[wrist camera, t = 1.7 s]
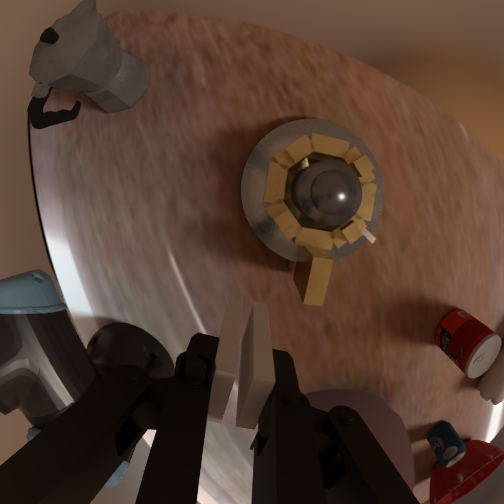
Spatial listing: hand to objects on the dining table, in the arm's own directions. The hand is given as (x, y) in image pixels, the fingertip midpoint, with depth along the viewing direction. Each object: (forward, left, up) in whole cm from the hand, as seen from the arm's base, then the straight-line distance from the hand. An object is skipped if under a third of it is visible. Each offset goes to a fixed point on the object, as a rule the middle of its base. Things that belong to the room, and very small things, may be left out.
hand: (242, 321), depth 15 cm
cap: (+7, +8, -20) cm, 23 cm away
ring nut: (+7, +6, -19) cm, 21 cm away
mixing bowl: (+74, -57, -21) cm, 96 cm away
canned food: (+37, -9, -21) cm, 43 cm away
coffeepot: (-21, +19, -21) cm, 35 cm away
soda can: (+52, -38, -21) cm, 68 cm away
